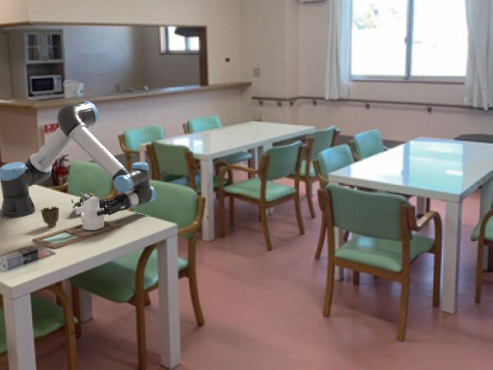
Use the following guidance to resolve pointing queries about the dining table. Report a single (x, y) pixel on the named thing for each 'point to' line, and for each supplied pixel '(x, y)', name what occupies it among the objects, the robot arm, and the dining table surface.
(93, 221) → the base with upright slab
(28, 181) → the robot arm
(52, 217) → the cup
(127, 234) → the dining table surface
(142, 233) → the dining table surface
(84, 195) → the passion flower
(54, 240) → the frame with rectangular openings
